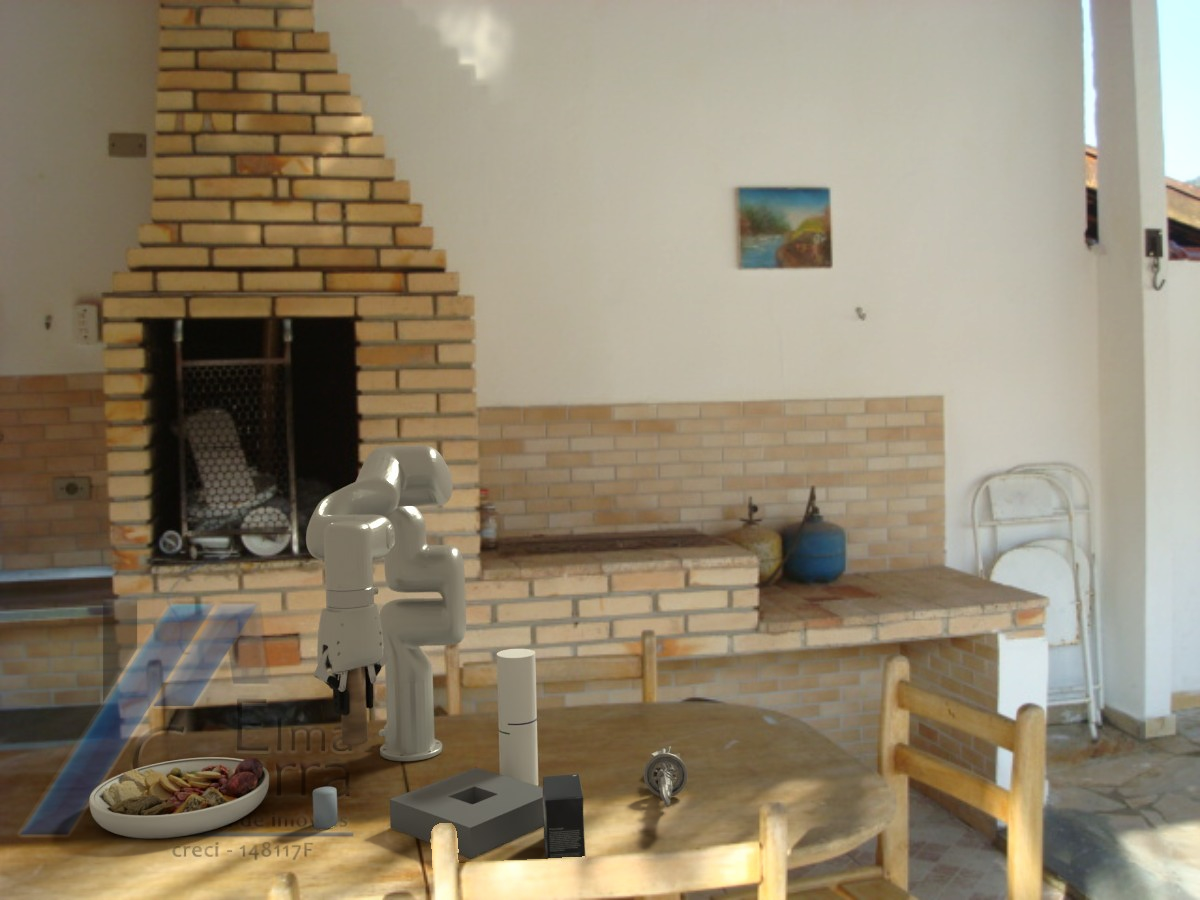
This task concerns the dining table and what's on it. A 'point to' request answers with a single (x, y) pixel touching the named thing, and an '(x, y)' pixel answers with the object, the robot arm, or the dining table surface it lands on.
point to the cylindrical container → (517, 714)
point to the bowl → (179, 797)
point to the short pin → (325, 807)
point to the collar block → (471, 810)
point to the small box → (563, 816)
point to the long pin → (355, 709)
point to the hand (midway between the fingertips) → (353, 709)
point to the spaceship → (665, 774)
